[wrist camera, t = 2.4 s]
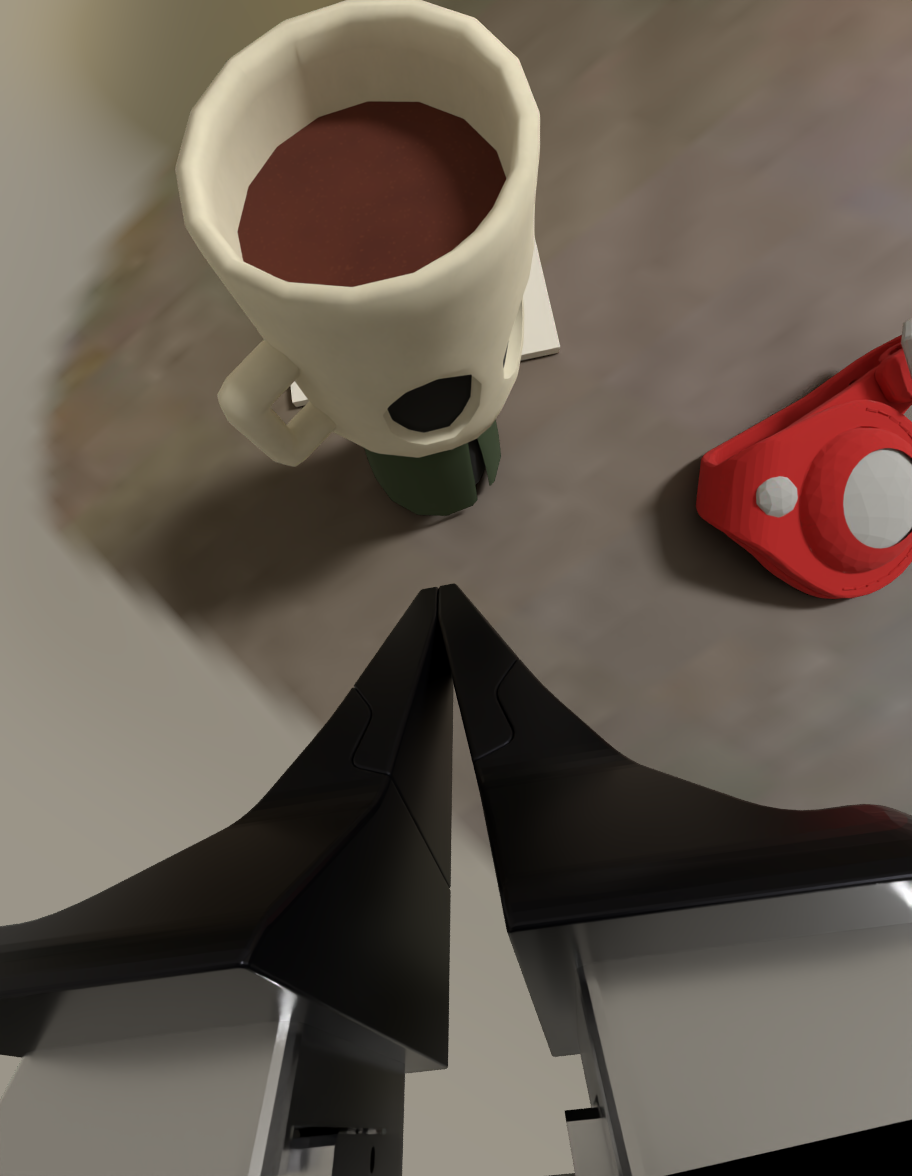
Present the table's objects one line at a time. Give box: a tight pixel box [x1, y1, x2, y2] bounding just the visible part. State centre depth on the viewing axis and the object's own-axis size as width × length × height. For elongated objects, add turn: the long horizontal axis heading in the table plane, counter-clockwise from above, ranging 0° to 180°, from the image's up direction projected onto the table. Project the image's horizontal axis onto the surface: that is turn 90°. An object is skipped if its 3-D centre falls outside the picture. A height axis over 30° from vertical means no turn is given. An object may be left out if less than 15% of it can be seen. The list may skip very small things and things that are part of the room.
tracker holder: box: [696, 319, 912, 599], centre depth 17 cm, size 12×4×10 cm
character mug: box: [175, 0, 540, 516], centre depth 14 cm, size 11×7×13 cm, turn 138°
